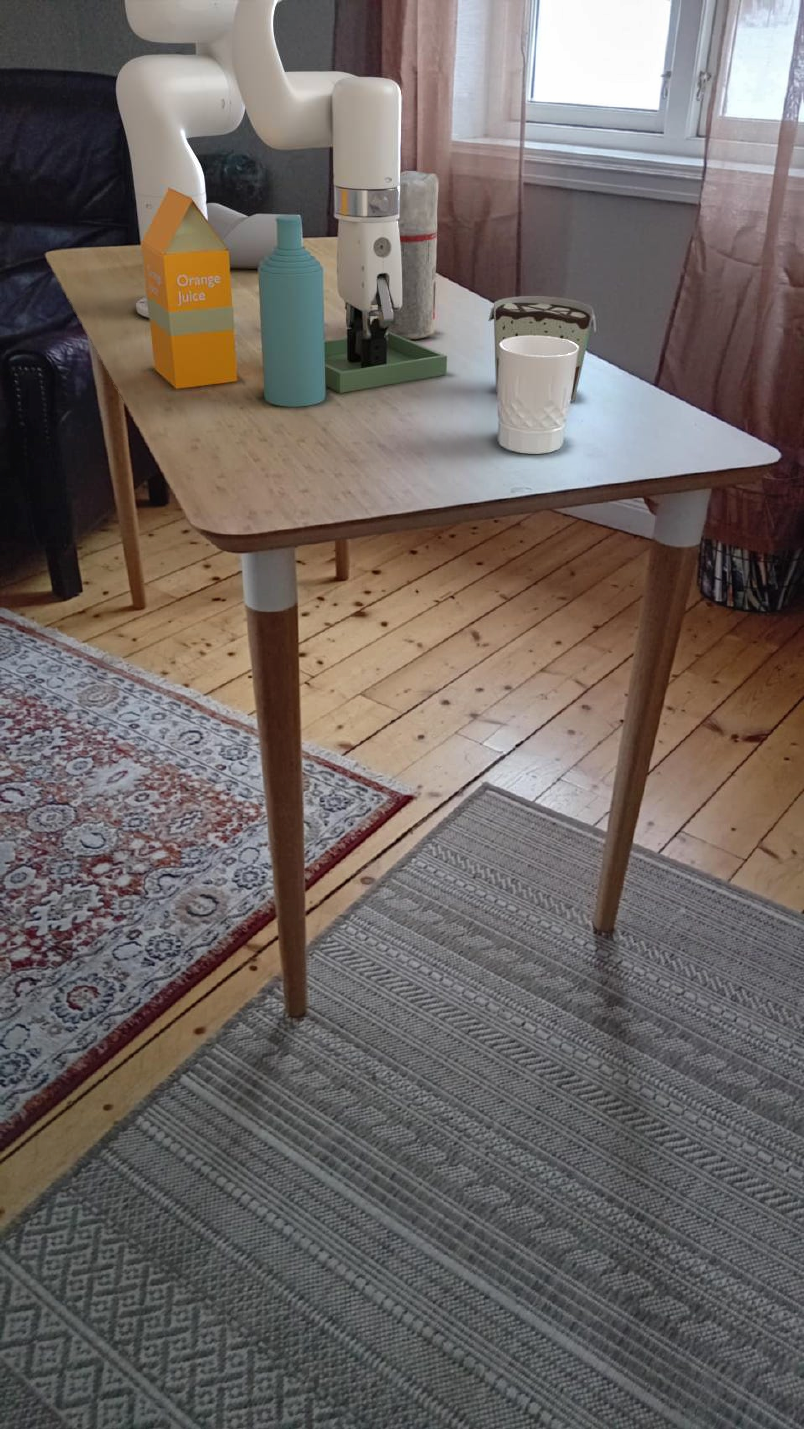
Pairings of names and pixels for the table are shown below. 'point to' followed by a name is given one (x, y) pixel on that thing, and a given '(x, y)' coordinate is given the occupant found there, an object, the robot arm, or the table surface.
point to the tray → (401, 365)
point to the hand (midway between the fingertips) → (366, 364)
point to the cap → (359, 341)
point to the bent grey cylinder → (244, 234)
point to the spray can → (417, 255)
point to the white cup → (534, 392)
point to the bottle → (292, 320)
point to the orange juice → (188, 296)
